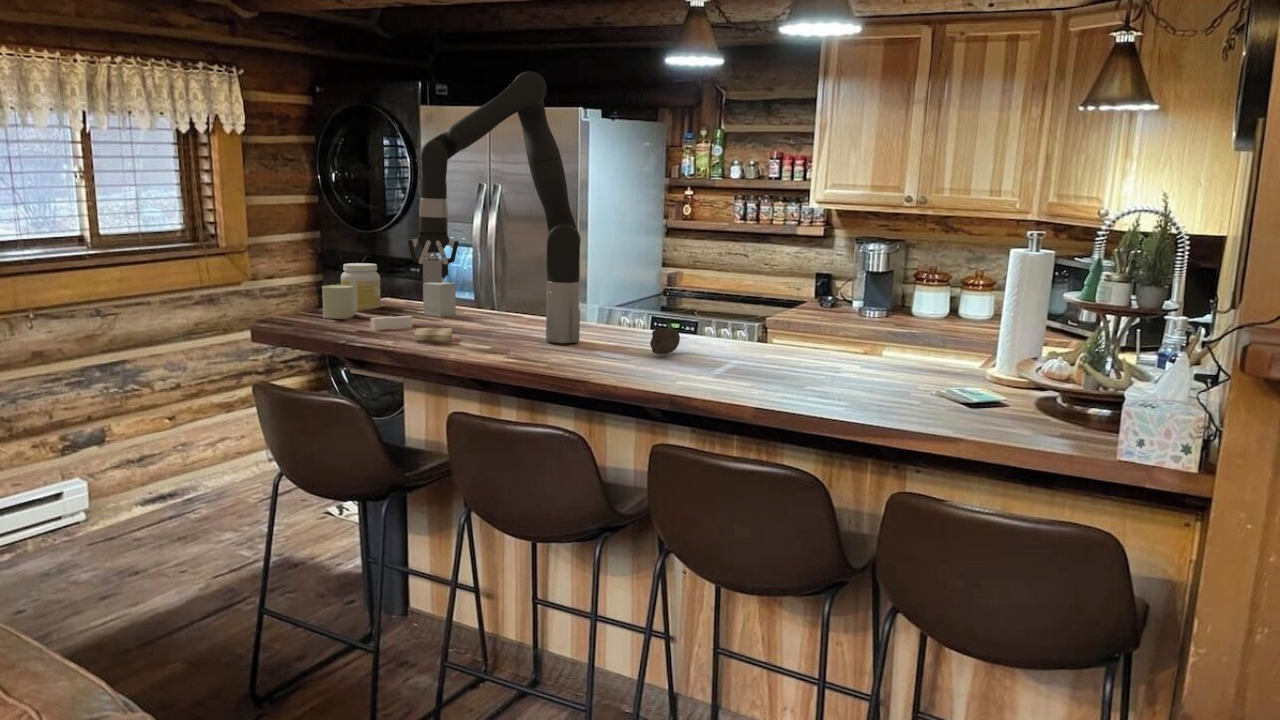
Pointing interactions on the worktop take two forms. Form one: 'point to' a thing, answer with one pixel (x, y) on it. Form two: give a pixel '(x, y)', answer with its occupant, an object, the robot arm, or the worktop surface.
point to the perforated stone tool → (664, 340)
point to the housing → (433, 269)
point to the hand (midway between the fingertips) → (433, 277)
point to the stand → (434, 335)
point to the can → (337, 301)
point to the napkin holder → (391, 322)
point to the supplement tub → (363, 285)
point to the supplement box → (439, 299)
